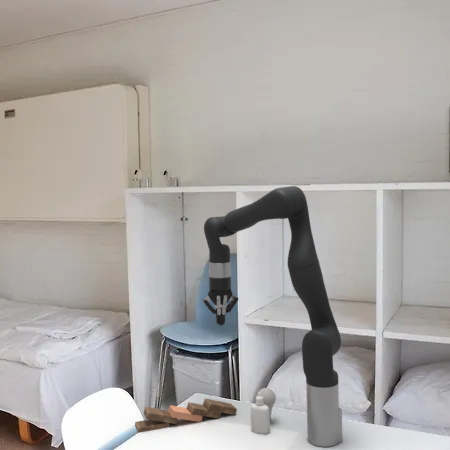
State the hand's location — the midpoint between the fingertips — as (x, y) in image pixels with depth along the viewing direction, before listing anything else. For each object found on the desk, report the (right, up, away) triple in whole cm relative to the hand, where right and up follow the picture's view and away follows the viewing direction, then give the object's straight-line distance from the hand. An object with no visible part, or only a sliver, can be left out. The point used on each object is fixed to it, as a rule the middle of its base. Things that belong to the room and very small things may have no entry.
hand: (220, 324), depth 183 cm
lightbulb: (+15, -28, -15) cm, 35 cm away
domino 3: (-7, -28, -10) cm, 30 cm away
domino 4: (-1, -27, -8) cm, 29 cm away
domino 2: (-17, -29, -13) cm, 36 cm away
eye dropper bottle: (+12, -29, -21) cm, 38 cm away
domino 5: (+4, -27, -6) cm, 28 cm away
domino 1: (-14, -27, -13) cm, 33 cm away
